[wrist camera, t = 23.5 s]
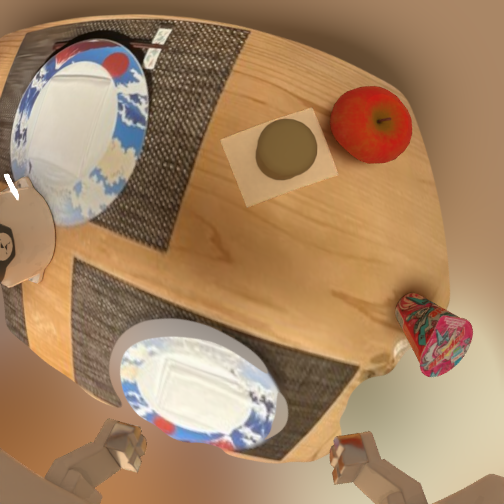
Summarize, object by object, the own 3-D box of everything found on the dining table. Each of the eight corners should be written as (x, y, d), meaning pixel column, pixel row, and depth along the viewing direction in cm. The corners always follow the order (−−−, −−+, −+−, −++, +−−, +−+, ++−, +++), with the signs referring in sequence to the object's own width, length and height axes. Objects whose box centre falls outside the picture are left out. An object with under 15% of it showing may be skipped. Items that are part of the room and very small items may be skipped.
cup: (438, 297, 36) (481, 333, 24) (407, 338, 38) (441, 383, 26) (405, 269, 35) (451, 304, 23) (371, 316, 37) (403, 364, 25)
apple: (311, 150, 31) (332, 138, 21) (330, 91, 29) (356, 59, 19) (372, 175, 32) (414, 177, 21) (389, 118, 29) (432, 101, 19)
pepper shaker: (270, 122, 30) (274, 97, 20) (314, 147, 31) (338, 134, 20) (246, 165, 32) (237, 158, 21) (290, 189, 32) (303, 196, 22)
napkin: (247, 207, 33) (246, 207, 33) (220, 140, 31) (219, 139, 31) (337, 175, 32) (338, 174, 31) (311, 108, 30) (312, 107, 29)
